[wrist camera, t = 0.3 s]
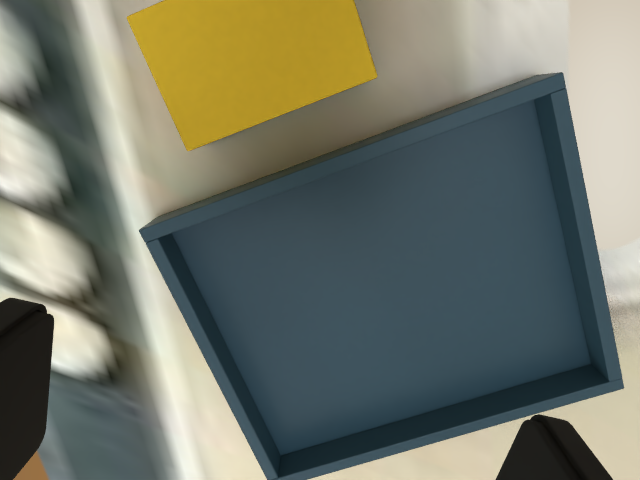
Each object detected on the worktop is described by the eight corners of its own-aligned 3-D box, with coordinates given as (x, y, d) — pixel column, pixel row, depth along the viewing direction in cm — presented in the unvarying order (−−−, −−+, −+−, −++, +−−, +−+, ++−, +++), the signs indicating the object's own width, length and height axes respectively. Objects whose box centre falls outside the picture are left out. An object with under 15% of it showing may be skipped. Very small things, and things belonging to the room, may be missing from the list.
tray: (156, 217, 27) (138, 230, 25) (537, 74, 25) (563, 71, 22) (276, 458, 33) (272, 490, 30) (598, 362, 30) (624, 388, 27)
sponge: (207, 144, 26) (186, 151, 22) (156, 29, 24) (125, 16, 20) (369, 80, 25) (378, 77, 21) (329, -45, 23) (331, -74, 19)
